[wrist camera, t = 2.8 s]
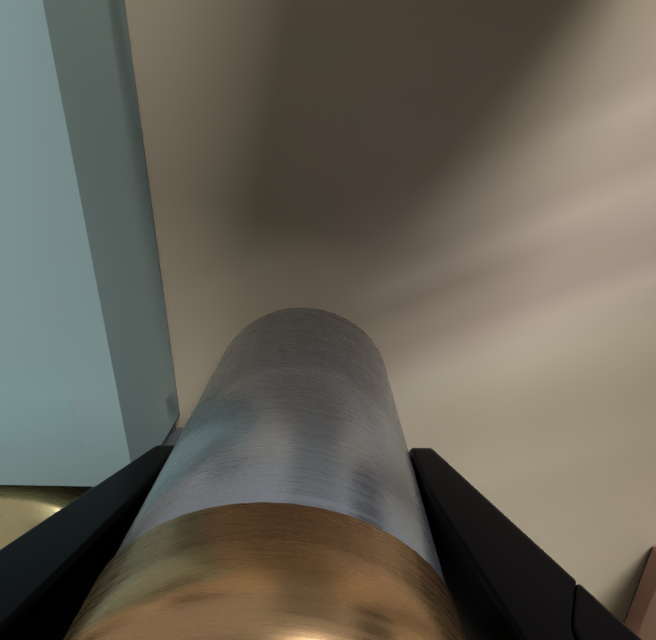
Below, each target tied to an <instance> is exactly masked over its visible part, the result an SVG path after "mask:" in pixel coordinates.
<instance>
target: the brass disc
mask: <svg viewBox="0 0 656 640" xmlns="http://www.w3.org/2000/svg"><path fill="white" fill-rule="evenodd" d="M83 494H84V492H81V491H78V490H76V489H73V488H70V487H66V486H38V485H0V549H2V548H3V547H5V546H6V545H8V544H9V543H11V542H12V541H14V540H15V539H17V538H18V537H20V536H21V535H23V534H24V533H26V532H27V531H29V530H30V529H32V528H33V527H35V526H36V525H38V524H39V523H41V522H42V521H44V520H45V519H47V518H48V517H50V516H51V515H53V514H54V513H56V512H57V511H59V510H60V509H62V508H63V507H65V506H66V505H68V504H69V503H71V502H72V501H74V500H75V499H77V498H78V497H80V496H81V495H83Z"/></svg>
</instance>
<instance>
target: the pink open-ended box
mask: <svg viewBox="0 0 656 640" xmlns="http://www.w3.org/2000/svg"><path fill="white" fill-rule="evenodd" d="M624 624H625V625H626V626H627V627H628V628H629V629H630V630H632V631H633V632H634V633H635V634H636V635H637V636H638V637H640V638H641V639H642V640H656V547H653V548H652V551H651V554H650V556H649V559H648V562H647V564H646V567H645V570H644V572H643V575H642V578H641V580H640V583H639V586H638V588H637V591H636V594H635V596H634V599H633V602H632V604H631V607H630V610H629V612H628V615H627V618H626V620H625V623H624Z"/></svg>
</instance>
